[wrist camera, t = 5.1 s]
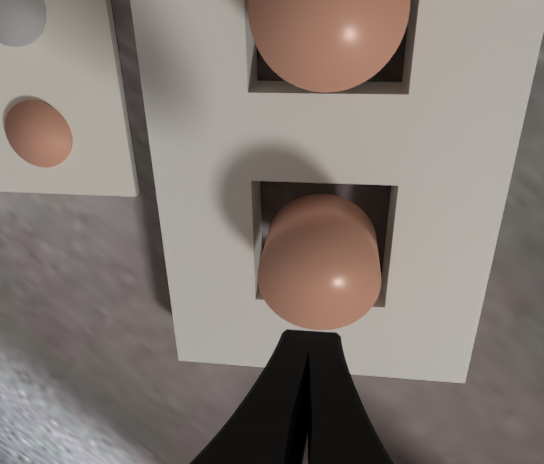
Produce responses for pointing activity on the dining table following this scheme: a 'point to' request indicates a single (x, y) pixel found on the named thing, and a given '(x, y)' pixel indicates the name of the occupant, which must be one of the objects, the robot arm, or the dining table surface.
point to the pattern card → (63, 100)
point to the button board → (336, 173)
